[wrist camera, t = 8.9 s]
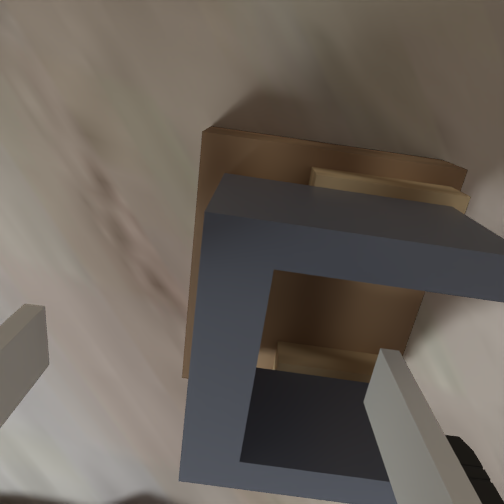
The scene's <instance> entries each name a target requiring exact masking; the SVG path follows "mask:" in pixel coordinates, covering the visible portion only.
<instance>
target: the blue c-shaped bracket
mask: <svg viewBox="0 0 504 504" xmlns="http://www.w3.org/2000/svg"><path fill="white" fill-rule="evenodd" d="M274 270H281V271H288V272H295V273H302V274H309V275H316V276H323V277H330V278H337V279H344V280H351V281H358V282H365V283H372V284H379V285H386V286H393V287H400V288H406V289H413V290H420V291H427V292H434V293H441V294H448V295H455V296H462V297H469V298H476V299H483V300H490V301H497V302H504V239H503V238H501V237H500V236H498V235H496V234H495V233H493V232H492V231H490V230H488V229H487V228H485V227H484V226H482V225H481V224H479V223H477V222H476V221H474V220H473V219H471V218H469V217H468V216H466V215H465V214H463V213H462V212H460V211H458V210H457V209H455V208H454V207H452V206H445V205H438V204H431V203H425V202H418V201H411V200H404V199H397V198H391V197H384V196H377V195H370V194H364V193H357V192H350V191H343V190H336V189H330V188H323V187H316V186H309V185H303V184H296V183H289V182H282V181H275V180H269V179H262V178H255V177H248V176H242V175H235V174H228V173H224V175H223V177H222V179H221V181H220V183H219V185H218V187H217V189H216V190H215V192H214V194H213V196H212V198H211V200H210V202H209V204H208V206H207V208H206V210H205V212H204V223H203V233H202V243H201V254H200V264H199V274H198V285H197V295H196V306H195V316H194V326H193V337H192V347H191V357H190V368H189V378H188V388H187V399H186V409H185V419H184V430H183V440H182V451H181V461H180V471H179V481H182V482H190V483H197V484H205V485H212V486H220V487H228V488H235V489H243V490H250V491H258V492H266V493H273V494H281V495H288V496H296V497H304V498H311V499H319V500H326V501H334V502H342V503H349V504H397V501H396V498H395V495H394V492H393V489H392V486H391V483H390V480H389V477H388V474H387V471H386V468H385V465H384V462H383V459H382V456H381V453H380V450H379V447H378V444H377V441H376V438H375V435H374V432H373V429H372V426H371V423H370V420H369V417H368V414H367V411H366V408H365V405H364V402H363V401H364V398H365V395H366V392H367V389H368V386H369V383H366V382H358V381H351V380H344V379H337V378H329V377H322V376H315V375H308V374H300V373H293V372H286V371H279V370H271V369H264V368H257V367H256V366H257V361H258V355H259V350H260V344H261V338H262V333H263V327H264V322H265V316H266V310H267V305H268V299H269V294H270V288H271V283H272V277H273V271H274Z"/></svg>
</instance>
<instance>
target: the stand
mask: <svg viewBox="0 0 504 504" xmlns="http://www.w3.org/2000/svg"><path fill="white" fill-rule="evenodd" d="M224 173H228V174H235V175H242V176H248V177H255V178H262V179H269V180H275V181H282V182H289V183H296V184H303V185H309V186H316V187H323V188H330V189H336V190H343V191H350V192H357V193H364V194H370V195H377V196H384V197H391V198H397V199H404V200H411V201H418V202H425V203H431V204H438V205H445V206H452V207H454V208H455V209H457V210H458V211H460V212H462V213H463V214H465V212H466V209H467V206H468V203H469V201H470V198H471V197H470V196H468V195H466V194H464V193H462V192H460V190H461V188H462V185H463V182H464V179H465V176H466V173H467V170H466V169H464V168H461V167H459V166H456V165H454V164H451V163H449V162H446V161H444V160H439V159H432V158H426V157H419V156H412V155H405V154H398V153H391V152H384V151H377V150H370V149H364V148H357V147H350V146H343V145H336V144H329V143H322V142H315V141H308V140H302V139H295V138H288V137H281V136H274V135H267V134H260V133H253V132H247V131H240V130H233V129H226V128H219V127H212V126H211V127H209V128H207V129H206V130H204V131H203V132H202V143H201V155H200V167H199V179H198V191H197V203H196V215H195V227H194V239H193V252H192V264H191V276H190V288H189V300H188V312H187V324H186V336H185V348H184V360H183V372H182V378H187V379H188V378H189V368H190V357H191V347H192V337H193V326H194V316H195V306H196V295H197V285H198V274H199V264H200V254H201V243H202V233H203V223H204V212H205V210H206V208H207V206H208V204H209V202H210V200H211V198H212V196H213V194H214V192H215V190H216V189H217V187H218V185H219V183H220V181H221V179H222V177H223V175H224ZM424 293H425V291H420V290H413V289H406V288H400V287H393V286H386V285H379V284H372V283H365V282H358V281H351V280H344V279H337V278H330V277H323V276H316V275H309V274H302V273H295V272H288V271H281V270H274V271H273V277H272V283H271V288H270V294H269V299H268V305H267V310H266V316H265V322H264V327H263V333H262V338H261V344H260V350H259V355H258V361H257V366H256V367H257V368H264V369H271V370H279V371H286V372H293V373H300V374H308V375H315V376H322V377H329V378H337V379H344V380H351V381H358V382H366V383H370V379H371V376H372V373H373V370H374V367H375V364H376V360H377V357H378V354H379V351H380V348H382V349H390V350H398V351H400V353H401V355H402V356H403V353H404V351H405V348H406V345H407V342H408V339H409V336H410V333H411V331H412V328H413V325H414V322H415V319H416V316H417V313H418V311H419V308H420V305H421V302H422V299H423V296H424Z"/></svg>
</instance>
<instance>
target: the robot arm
mask: <svg viewBox="0 0 504 504" xmlns="http://www.w3.org/2000/svg"><path fill="white" fill-rule="evenodd" d="M48 365H49V353H48V340H47V327H46V314H45V306H39V305H31V304H24V305H23V306H22V307H21V308H19V309H18V310H17V311H16V312H15V313H14V314H13V315H12V316H11V317H9V318H8V319H7V320H6V321H5V322H4V323H3V324H2V325H1V326H0V428H1V426H2V425H3V424H4V423H5V421H6V420H7V419H8V417H9V416H10V415H11V414H12V412H13V411H14V410H15V408H16V407H17V406H18V404H19V403H20V402H21V401H22V399H23V398H24V397H25V395H26V394H27V393H28V391H29V390H30V389H31V388H32V386H33V385H34V384H35V382H36V381H37V380H38V378H39V377H40V376H41V375H42V373H43V372H44V371H45V369H46V368H47V367H48ZM363 402H364V405H365V408H366V411H367V414H368V417H369V420H370V423H371V426H372V429H373V432H374V435H375V438H376V441H377V444H378V447H379V450H380V453H381V456H382V459H383V462H384V465H385V468H386V471H387V474H388V477H389V480H390V483H391V486H392V489H393V492H394V495H395V498H396V501H397V504H504V502H503V500H502V498H501V497H500V495H499V493H498V492H497V490H496V488H495V486H494V485H493V483H491V482H490V478H489V476H488V475H487V473H486V471H485V470H483V466H482V465H481V463H480V461H479V460H478V458H477V456H476V455H475V453H474V451H473V450H472V449H471V448H470V447H469V446H468V445H467V444H466V443H465V442H464V441H463V440H462V439H461V438H460V437H457V436H449V435H445V434H444V432H443V431H442V429H441V427H440V425H439V423H438V421H437V419H436V418H435V416H434V414H433V412H432V410H431V408H430V407H429V405H428V403H427V401H426V399H425V397H424V395H423V394H422V392H421V390H420V388H419V386H418V384H417V382H416V381H415V379H414V377H413V375H412V373H411V371H410V370H409V368H408V366H407V364H406V362H405V360H404V358H403V357H402V355H401V353H400V351H398V350H390V349H382V348H380V351H379V354H378V357H377V360H376V364H375V367H374V370H373V373H372V376H371V379H370V383H369V386H368V389H367V392H366V395H365V398H364V401H363Z"/></svg>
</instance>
